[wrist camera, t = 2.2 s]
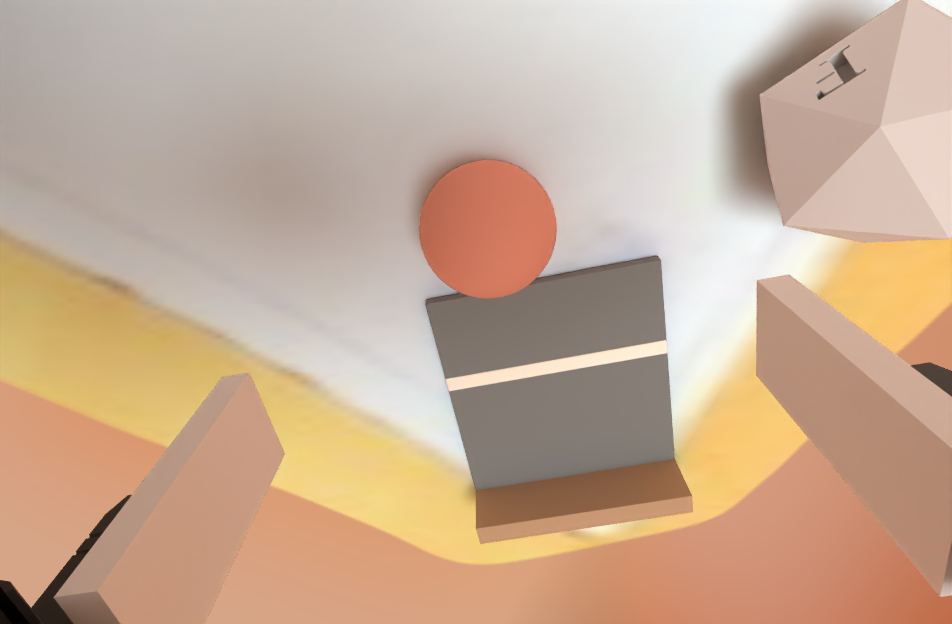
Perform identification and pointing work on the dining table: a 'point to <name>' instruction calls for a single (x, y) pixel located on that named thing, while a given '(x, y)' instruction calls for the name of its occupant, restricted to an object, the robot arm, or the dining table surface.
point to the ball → (487, 229)
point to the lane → (564, 400)
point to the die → (868, 132)
